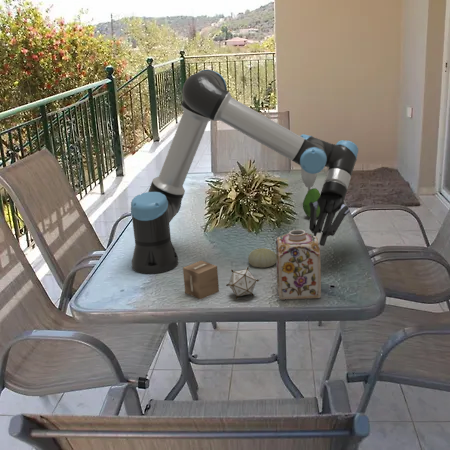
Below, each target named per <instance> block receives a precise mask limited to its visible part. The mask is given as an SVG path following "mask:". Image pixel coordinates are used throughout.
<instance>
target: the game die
mask: <svg viewBox="0 0 450 450" xmlns="http://www.w3.org/2000/svg"><path fill="white" fill-rule="evenodd" d="M249 269H250V268H249V266H247V268H245V269H241V270H235V271H234V270H233V269H231V270H230V271H231V273H232V274H231V276H230V279H229V282H228V283H226V284H225V286H227V287H228V286H229V287H230V289H231V291H232V292H233V293H234V295H235V296H236V297H235V299H236V300H237V299H238V298H239V297H242V296H247V295H251V296H254V293H253V291H254V289H255V286H256V284H257V282H259V281H260V279H256V278H255V276H254V275H253V274H252V273H251V272H250V270H249Z"/></svg>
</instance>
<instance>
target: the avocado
mask: <svg viewBox="0 0 450 450" xmlns="http://www.w3.org/2000/svg"><path fill="white" fill-rule="evenodd" d="M307 191H308V190H307ZM307 191H306V195H305V196H304V199H303V202H302V209H303V212H304V214H305V215H306V216H307V217H308V218H310V209H311V208H310V206H309V203H310V202H312V203H314V202H316V201H317V200H318V198H319V197H320V195H321V192H320V191H319V189H317V188H316V187H312V188H310V190H309V191H308V192H307ZM319 214H320V207H319V205H318V208H317V210H316V219H318V217H319Z"/></svg>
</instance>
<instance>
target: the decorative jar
mask: <svg viewBox="0 0 450 450" xmlns="http://www.w3.org/2000/svg"><path fill="white" fill-rule="evenodd" d="M313 235H314V234H312V233H311V234H310V233H309V232H306V231H305V230H303V229H292V230H291V231H288V233H286V234H282V235H281V236H278V237H277V238H276V241H275V253H276V263H275V265H276V267H275V268H276V283H277V284H276V285H277V293H278V297H279V300H280V301H281V300H283V301H284V300H285V299H286V300H303V299H307V300H308V299H310V300H311V299H320V298H321V296H322V274H321V273H322V272H321V271H322V268H321V267H322V266H321V265H322V264H321V262H322V261H321V260H322V259H321V249H320V248H319V244H318V239H317V237H316V236H313Z"/></svg>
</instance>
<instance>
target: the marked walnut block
mask: <svg viewBox="0 0 450 450" xmlns="http://www.w3.org/2000/svg"><path fill="white" fill-rule="evenodd" d="M218 273H219V272H218V265H215V264H213V263H210V262H207V261H203V260H199V261H196V262H194V263H191V264H189V265H187V266H183V267H182V274H183V283H184V292H185V294H187V295H189V296H192V297H194V298H196V299H199V300H203V299H205V298H207V297H209V296H212V295H214V294H216V293H218V292H220V290H219V289H220V288H219V286H220V285H219V274H218Z"/></svg>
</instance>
